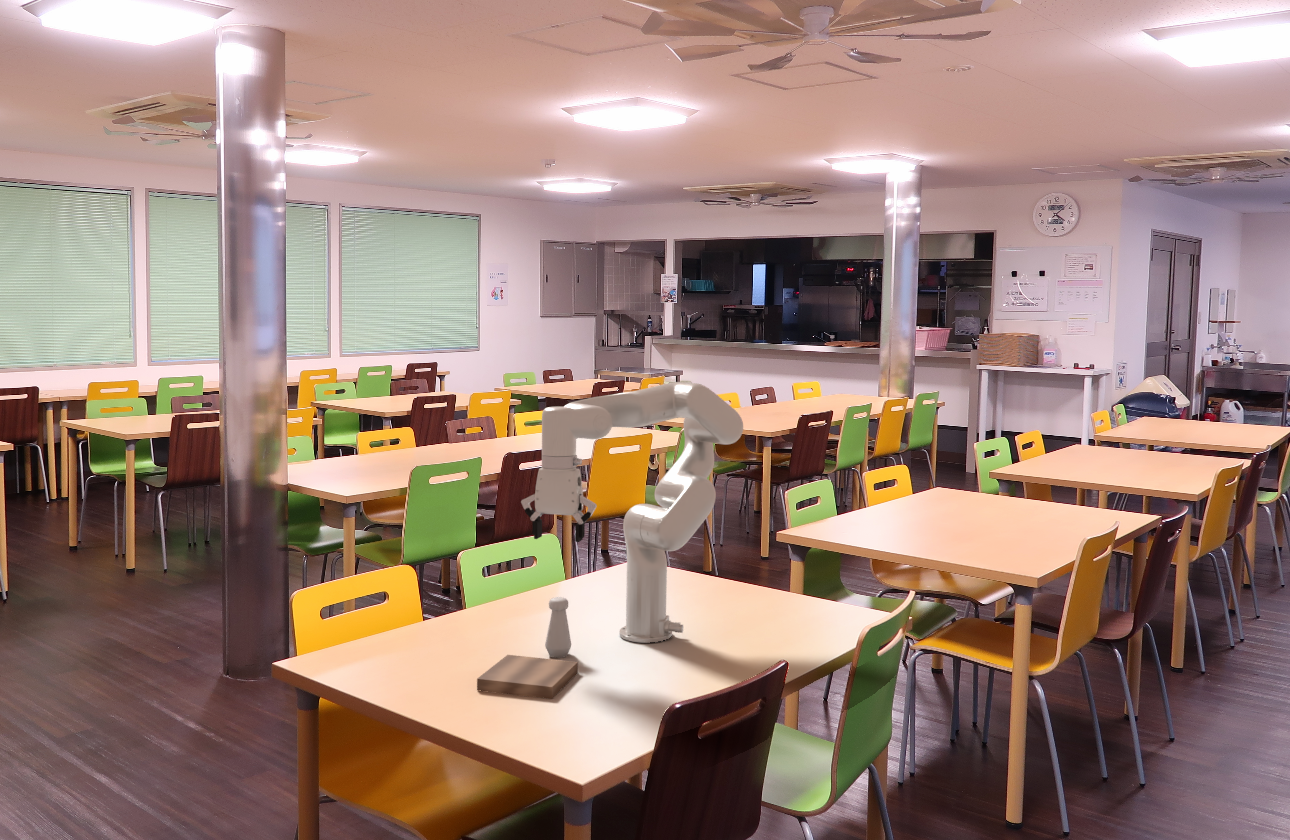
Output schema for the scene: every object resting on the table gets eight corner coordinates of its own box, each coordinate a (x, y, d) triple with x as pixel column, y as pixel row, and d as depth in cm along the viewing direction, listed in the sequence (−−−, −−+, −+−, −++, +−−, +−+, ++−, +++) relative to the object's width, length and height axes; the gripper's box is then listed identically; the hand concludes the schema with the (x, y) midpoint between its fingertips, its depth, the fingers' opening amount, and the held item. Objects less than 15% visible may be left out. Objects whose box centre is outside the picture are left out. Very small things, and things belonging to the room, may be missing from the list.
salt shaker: (560, 661, 228) (561, 603, 227) (539, 656, 231) (540, 599, 230) (576, 654, 233) (576, 597, 232) (555, 649, 236) (556, 593, 235)
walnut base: (577, 675, 220) (577, 661, 220) (551, 701, 205) (552, 686, 205) (507, 668, 225) (507, 654, 224) (477, 693, 209) (477, 678, 209)
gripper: (601, 462, 230) (600, 538, 231) (528, 458, 234) (528, 533, 236) (590, 467, 222) (590, 545, 224) (515, 463, 227) (515, 540, 228)
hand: (558, 539), depth 230 cm, fingers open, 9 cm apart
